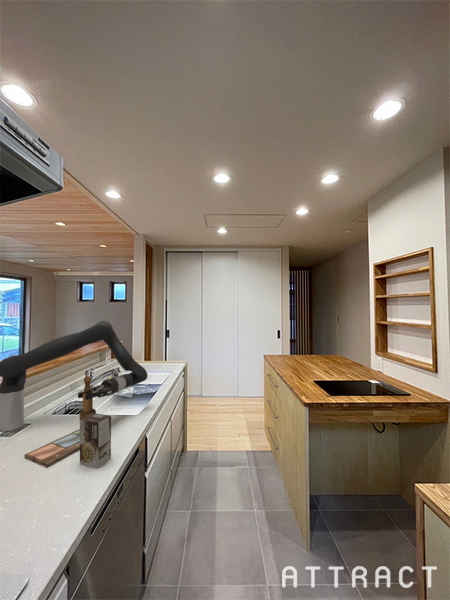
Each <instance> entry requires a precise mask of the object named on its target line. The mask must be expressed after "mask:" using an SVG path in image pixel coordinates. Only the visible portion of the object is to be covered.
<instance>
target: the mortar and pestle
mask: <svg viewBox="0 0 450 600" xmlns="http://www.w3.org/2000/svg"><path fill="white" fill-rule="evenodd" d="M83 382H84V384H85V387H84V389H85V392H83V391H82V392H83V397H82V410H81V411H80V412H79V414H78V415H79V418H78V419H79V420H80V419H82V418H84V417H86V416H88V415H90V414H92V413H96V414H97V410H96V409H95V408H93V406H94V405H93V402H94V400H93V399H94V397H93V398H91V399H88V400H85V395H86V394H89V393H91V392H93V391H90V387H91V385H90V384H91V382H92V377H91V376H89V375H87V376H85V377H84V378H83ZM93 393H94V392H93Z"/></svg>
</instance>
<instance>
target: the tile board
mask: <svg viewBox="0 0 450 600" xmlns="http://www.w3.org/2000/svg"><path fill="white" fill-rule="evenodd" d="M77 452H80V428H78V429H76V430H75V431H72V432H70V433H67V434H65V435H63V436H62V437H60V438H57V439H55V440H53V441H50V442H49V443H46V444H45V445H42V446H40V447H38V448H36V449H33V450H32V451H30V452H27V453H26V454H24V459H26V460H28V461H32V462H34V463H36V464H38V465H40V466H43V467H45V468H50V467H52V466H53V465H55V464H57V463H59V462H60V461H63V460H64V459H66V458H68V457H70V456H71V455H74V454H75V453H77Z"/></svg>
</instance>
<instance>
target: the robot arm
mask: <svg viewBox="0 0 450 600" xmlns="http://www.w3.org/2000/svg"><path fill="white" fill-rule="evenodd" d="M101 341H103V342H104V343H105V344H106V345H107V346H108V348H109V349H110V351H111V352H112V354H113V356H114V358H115V360H116V361H117V363H118V364H119V366H120V367H121V368H122V369H123V370H124V371H126V372H129V373H123V374H121V375H118V376H117V375H116V376H113V377H111V378H107V379H103V381H101V383H100V384H98V385H97V384H96V386H94V385H93V384H91V385H90V386H91V387H90V391H93V392H91V393H89V394H86V395H85V400H88V399H91V398H93V399H94V398H99V399H100V398H104V397H108V396H111V395H113V394H116V393H120V392H121V391H123V390H125V389H127V388H130V387H132V386H135V385H137V384H140V383H142V382H145V381H146V380H147V378H148V372H147V370H146V369H145V367H143V365H141V364H139V362H137V361H136V360H135V359H134V358H133V356H132V355H131V354H130V352H129V351H128V350H127V349H126V347H125V346H124V345H123V343H122V342H121V341H120V339H119V337H118V336H117V334H116V331H115V330H114V328H113V325H112V323H110V322H109V321H107V320H106V321H105V320H101V321H99V322H97V323H96V324H94V325H92V326H91V327H88V328H87V329H84V330H81V331H79V332H75V333H71V334H67V335H63V336H59V337H57V338H55V339H52V340H49V341H47V342H45V343H43V344H41V345H39V346H37V347H34V349H31V350H29V351H27V352H24V353H22V354H18V355H17V354H13V355H9V356H8V357H6V358H4V359H2V360H1V361H0V377H1V378H2V380H1V383H0V432H3V433H4V432H5V433H6V432H10V431H14V430H17V429H20V428H22V427H23V426H24V424H25V385H26V380H27V370H29V369H31V368H34V367H36V366H38V365H42V364H45V363H48V362H52V361H55V360H56V359H60V358H62V357H65V356H67V355H69V354H72V353H73V352H75V351H78V350H80V349H82V348H83V347H85V346H88V345H91V344H94V343H97V342H101ZM83 392H85V388H84V389H83V391H81V392H78V393H77V398H78V399H81V398H82V399H83Z"/></svg>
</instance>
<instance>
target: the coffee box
mask: <svg viewBox="0 0 450 600" xmlns="http://www.w3.org/2000/svg"><path fill="white" fill-rule="evenodd" d="M79 429H80V450H79V464H81V465H84V466H89V467H92V468H97V469H100V468H101V467H102V466H103V465H105V464H106V463H108V462H109V461H110V460H112V415H110V414H109V415H108V414H102V413H101V414H100V413H97V412H96V413H92V414H90V415H88V416H86V417H84V418H82V419H79Z"/></svg>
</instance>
